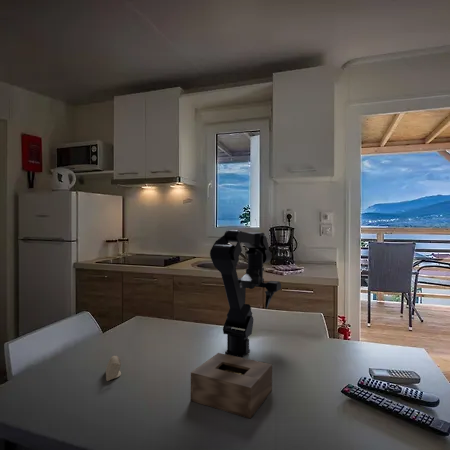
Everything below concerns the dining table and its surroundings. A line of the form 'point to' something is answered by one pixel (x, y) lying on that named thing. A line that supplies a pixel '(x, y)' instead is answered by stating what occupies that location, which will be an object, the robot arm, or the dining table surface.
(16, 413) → the dining table surface
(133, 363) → the dining table surface
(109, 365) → the decorative ornament
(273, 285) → the robot arm
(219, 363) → the walnut box
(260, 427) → the dining table surface
